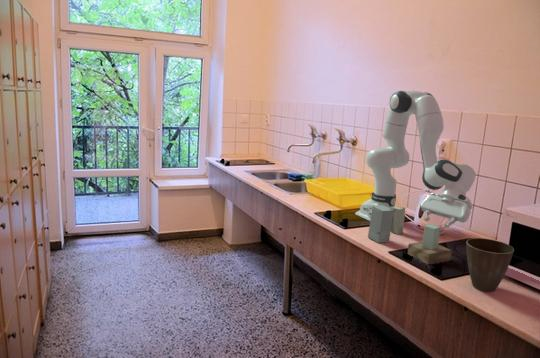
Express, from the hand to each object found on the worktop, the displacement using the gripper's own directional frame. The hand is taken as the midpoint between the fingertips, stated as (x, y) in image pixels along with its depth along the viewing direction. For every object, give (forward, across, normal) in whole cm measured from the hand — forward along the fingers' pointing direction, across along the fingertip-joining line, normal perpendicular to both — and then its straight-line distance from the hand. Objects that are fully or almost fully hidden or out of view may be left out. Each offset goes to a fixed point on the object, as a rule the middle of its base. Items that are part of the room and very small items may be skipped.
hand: (435, 223), depth 173 cm
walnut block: (+13, 0, +8) cm, 15 cm away
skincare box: (+14, -24, +7) cm, 29 cm away
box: (+2, -27, +19) cm, 33 cm away
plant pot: (+18, +28, +2) cm, 33 cm away
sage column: (+9, 0, +5) cm, 10 cm away
